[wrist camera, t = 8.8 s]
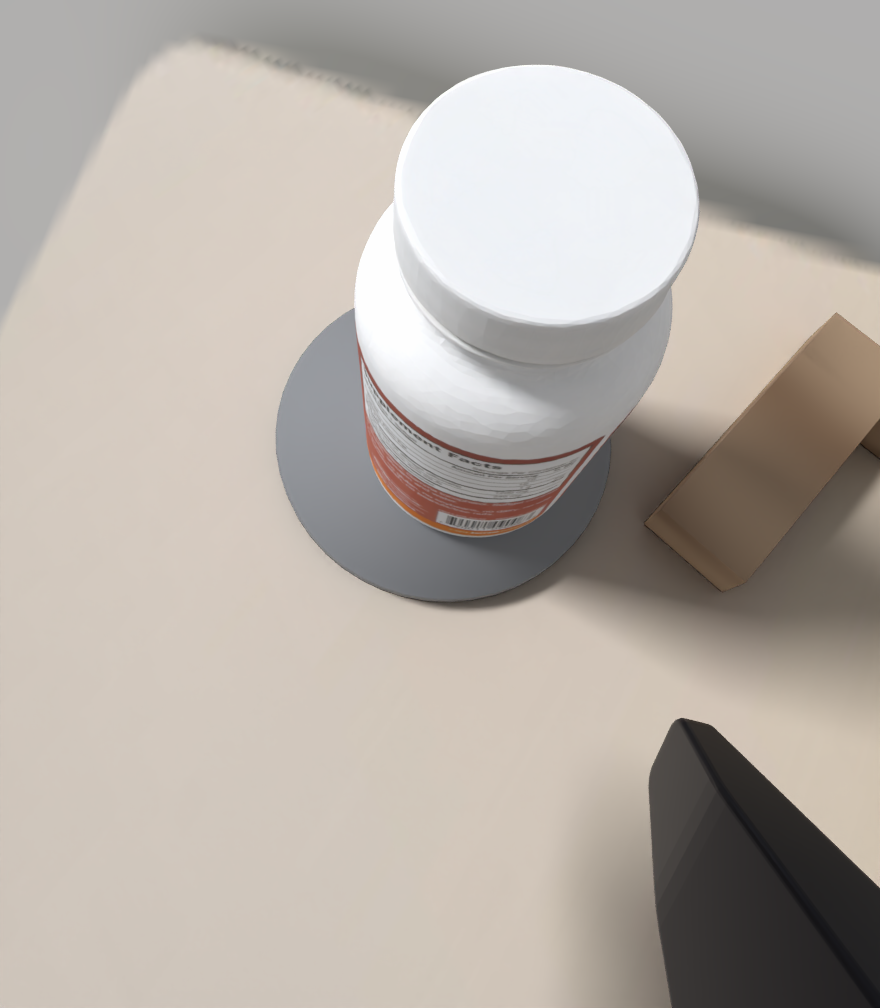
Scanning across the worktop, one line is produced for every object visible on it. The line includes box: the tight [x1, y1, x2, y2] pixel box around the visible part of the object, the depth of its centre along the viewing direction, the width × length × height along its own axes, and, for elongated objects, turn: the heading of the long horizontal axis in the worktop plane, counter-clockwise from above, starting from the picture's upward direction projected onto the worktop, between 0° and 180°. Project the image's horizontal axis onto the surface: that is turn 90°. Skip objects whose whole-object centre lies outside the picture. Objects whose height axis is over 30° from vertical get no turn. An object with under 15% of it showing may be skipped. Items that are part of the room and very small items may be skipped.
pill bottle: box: [355, 65, 700, 537], centre depth 16 cm, size 6×6×11 cm
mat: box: [276, 308, 611, 602], centre depth 22 cm, size 10×10×1 cm
